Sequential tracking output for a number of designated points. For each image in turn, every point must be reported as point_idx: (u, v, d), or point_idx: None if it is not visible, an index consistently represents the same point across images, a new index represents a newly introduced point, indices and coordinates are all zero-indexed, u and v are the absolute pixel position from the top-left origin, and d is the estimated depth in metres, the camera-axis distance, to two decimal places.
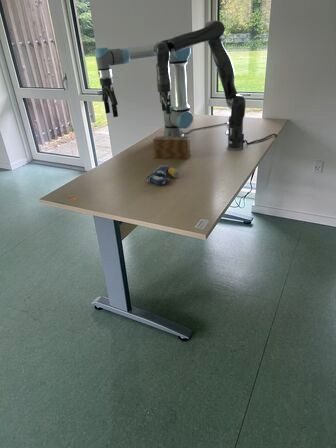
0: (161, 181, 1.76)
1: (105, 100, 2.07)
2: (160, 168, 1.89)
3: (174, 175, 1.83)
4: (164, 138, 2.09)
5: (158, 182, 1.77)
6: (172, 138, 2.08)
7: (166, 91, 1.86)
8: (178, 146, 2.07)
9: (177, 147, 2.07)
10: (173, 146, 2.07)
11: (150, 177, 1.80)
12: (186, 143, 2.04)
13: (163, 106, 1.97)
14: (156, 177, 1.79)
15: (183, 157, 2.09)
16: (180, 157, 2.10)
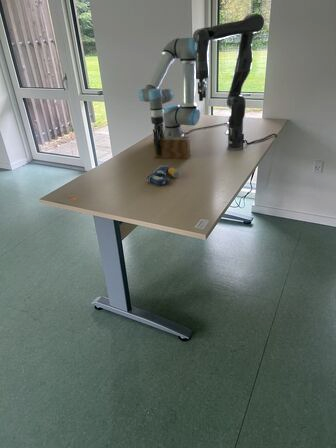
0: (161, 181, 1.76)
1: None
2: (160, 168, 1.89)
3: (174, 175, 1.83)
4: (164, 138, 2.09)
5: (158, 182, 1.77)
6: (172, 138, 2.08)
7: (201, 78, 1.88)
8: (178, 146, 2.07)
9: (177, 147, 2.07)
10: (173, 146, 2.07)
11: (150, 177, 1.80)
12: (186, 143, 2.04)
13: (203, 93, 2.00)
14: (156, 177, 1.79)
15: (183, 157, 2.09)
16: (180, 157, 2.10)
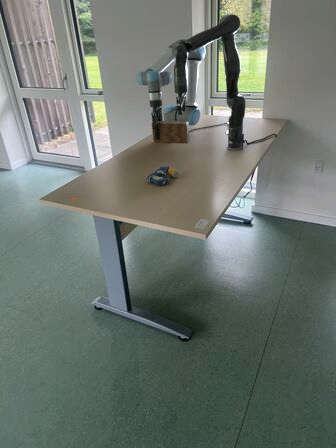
0: (161, 181, 1.76)
1: None
2: (160, 168, 1.89)
3: (174, 175, 1.83)
4: (163, 122, 2.04)
5: (158, 182, 1.77)
6: (171, 122, 2.03)
7: (179, 92, 1.89)
8: (177, 130, 2.01)
9: (176, 132, 2.02)
10: (172, 130, 2.02)
11: (150, 177, 1.80)
12: (185, 127, 1.99)
13: (183, 107, 2.00)
14: (156, 177, 1.79)
15: (182, 142, 2.04)
16: (179, 142, 2.05)
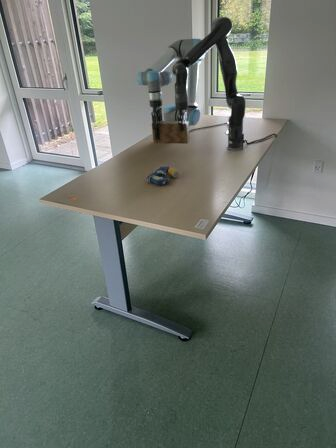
0: (161, 181, 1.76)
1: None
2: (160, 168, 1.89)
3: (174, 175, 1.83)
4: (163, 122, 2.04)
5: (158, 182, 1.77)
6: (171, 122, 2.03)
7: (180, 109, 1.94)
8: (177, 130, 2.01)
9: (176, 132, 2.02)
10: (172, 130, 2.02)
11: (150, 177, 1.80)
12: (185, 127, 1.99)
13: None
14: (156, 177, 1.79)
15: (182, 142, 2.04)
16: (179, 142, 2.05)
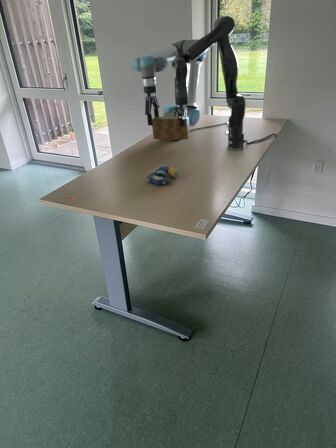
0: (161, 181, 1.76)
1: None
2: (160, 168, 1.89)
3: (174, 175, 1.83)
4: (163, 118, 2.02)
5: (158, 182, 1.77)
6: (171, 117, 2.01)
7: (180, 104, 1.92)
8: (177, 126, 2.00)
9: (176, 127, 2.01)
10: (172, 126, 2.01)
11: (150, 177, 1.80)
12: (185, 122, 1.98)
13: None
14: (156, 177, 1.79)
15: (182, 137, 2.03)
16: (179, 137, 2.03)
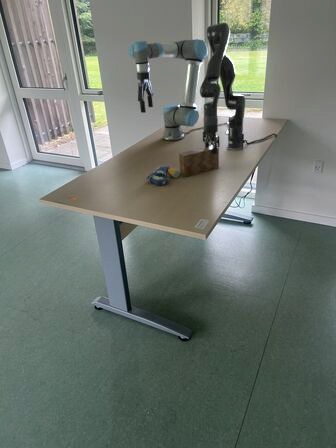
0: (161, 181, 1.76)
1: None
2: (160, 168, 1.89)
3: (174, 175, 1.83)
4: (193, 152, 1.83)
5: (158, 182, 1.77)
6: (200, 150, 1.85)
7: (214, 132, 1.79)
8: (210, 157, 1.86)
9: (209, 159, 1.87)
10: (204, 158, 1.85)
11: (150, 177, 1.80)
12: (217, 151, 1.87)
13: (207, 145, 1.90)
14: (156, 177, 1.79)
15: (214, 168, 1.91)
16: (211, 168, 1.90)
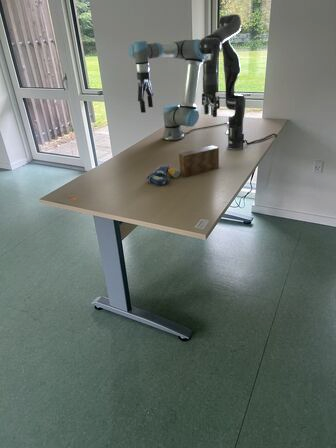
0: (161, 181, 1.76)
1: None
2: (160, 168, 1.89)
3: (174, 175, 1.83)
4: (193, 152, 1.83)
5: (158, 182, 1.77)
6: (200, 150, 1.85)
7: (214, 92, 1.69)
8: (210, 157, 1.86)
9: (209, 159, 1.87)
10: (204, 158, 1.85)
11: (150, 177, 1.80)
12: (217, 151, 1.87)
13: (206, 109, 1.80)
14: (156, 177, 1.79)
15: (214, 168, 1.91)
16: (211, 168, 1.90)
